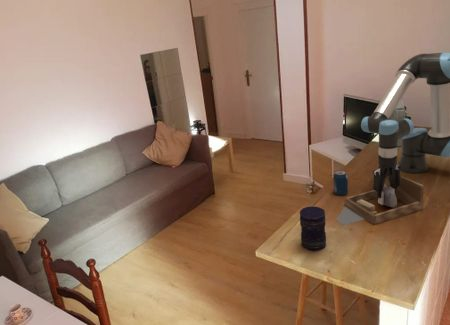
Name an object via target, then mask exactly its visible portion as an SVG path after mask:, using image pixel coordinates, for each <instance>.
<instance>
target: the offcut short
mask: <svg viewBox="0 0 450 325" xmlns="http://www.w3.org/2000/svg"><path fill="white" fill-rule="evenodd" d="M356 204H358V205H359V206H361V207H363V208H364V209H366V210H368V211H369V212H373V211H376V209H375V208H376V206H375V205H374V204H373V203H370V202H368V201H364V200H362V199H361V200H358V201H356Z"/></svg>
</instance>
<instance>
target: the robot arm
mask: <svg viewBox="0 0 450 325" xmlns="http://www.w3.org/2000/svg"><path fill="white" fill-rule="evenodd" d="M394 77H395V78H394V80H393V82H392V83H391V85H389V87H388V89H387V91H386V93H385V94H384V95H383V97H382V98H381V100H380V102H378V103H379V104H378V105H377V106H376V108H375V109H374V111H373V113H372V114H371V116H364V117H363V118H362V120H361V124H360V127H361V130H362V131H363V132H366V133H370V134H375V135H377V134H378V156H377V157H378V158H377V160H378V161H377V162H378V167H377V169H376V170H372V174H373V183H372V184H373V188H372V189H373V190H375V191H376V192H377V197H378V198H377V204H380V205H381V206H384V205H383V204H384V192H383V187H384V184H385V182H386V179H387V176H388V177H389V181H390V186H391V187H389V188H390V189H392V190H394V193H395V190H396V189H397V188H398V187H397V186H399V185H400V176H401V171H402V172H404V173H409V174H410V173H411V174H419V173H421V174H422V173H425V172H427V171H428V168H429V164H428V162H427V158H426V155H431V156H436V157H441V158H442V157H443V158H450V52H433V53H432V52H431V53H419V54H417V55H414V56H412V57H410V58H409V59H408V60H406V61H405V62H404V63H403V64H402V65H400V67H399V68H398V70H397V71H396V73H395V76H394ZM418 79H426V85H428V86H429V88H430V90H429V91H430V96H429V97H430V100H429V101H430V129H429V130H428V129H427V128H425V127H415V124H414V122H413V121H412V120H411V119H409V118H407V117H405V119H400V120H393V119H390V116H391V114H392V113H393V111H394V109H395V108H396V106H397V105H398V103H399V101H400V100H402V98H403V96H404V95H405V94H406V91H408V89H409V87H410V85H413V84H415V82H416V80H418ZM402 137H403V138H402ZM400 138H402V146H401V156H400V158H399V161H398V146H397V143H398V139H400Z"/></svg>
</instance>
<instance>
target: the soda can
mask: <svg viewBox="0 0 450 325" xmlns="http://www.w3.org/2000/svg"><path fill="white" fill-rule="evenodd" d="M332 176H333V180H332V181H333V193H334V194H335V195H337V196H339V195H340V197H341V195H343V196H346V195H347V194H348V192H349V187H348V186H349V185H348V184H349V181H348V180H349V176H348V174H347V171H346V170H343V169H342V170H341V169H340V170H339V169H338V170H336V171H334V174H333V175H332Z"/></svg>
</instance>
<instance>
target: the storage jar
mask: <svg viewBox="0 0 450 325" xmlns="http://www.w3.org/2000/svg"><path fill="white" fill-rule="evenodd" d="M299 224H300V229H301V232H300V240H301V246H302V248H303V249H305V250H307V251H310V252H319V251H323V250H324V249H325V248H326V247H327V242H326V241H327V235H326V211H325V210H324V208H321V207H319V206H306V207H304V208H303V207H302V208H301V210H300V211H299Z"/></svg>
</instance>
